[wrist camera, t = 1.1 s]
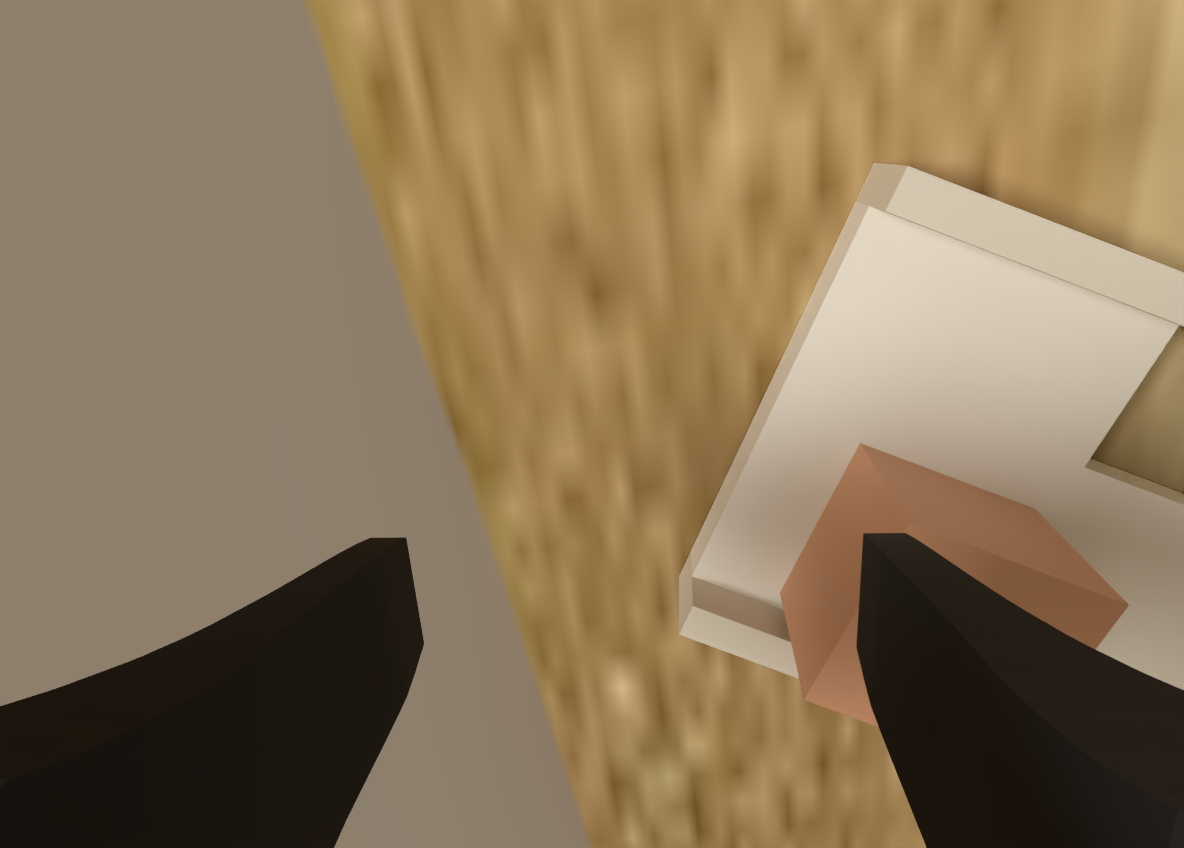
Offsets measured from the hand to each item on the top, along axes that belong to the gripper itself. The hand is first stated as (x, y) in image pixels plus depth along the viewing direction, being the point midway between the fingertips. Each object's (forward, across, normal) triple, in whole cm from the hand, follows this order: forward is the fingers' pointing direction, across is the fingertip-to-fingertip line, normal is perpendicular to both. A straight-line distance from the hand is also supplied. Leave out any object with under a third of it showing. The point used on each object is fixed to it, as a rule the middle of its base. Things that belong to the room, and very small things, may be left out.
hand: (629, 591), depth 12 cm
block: (+9, -7, +4) cm, 12 cm away
